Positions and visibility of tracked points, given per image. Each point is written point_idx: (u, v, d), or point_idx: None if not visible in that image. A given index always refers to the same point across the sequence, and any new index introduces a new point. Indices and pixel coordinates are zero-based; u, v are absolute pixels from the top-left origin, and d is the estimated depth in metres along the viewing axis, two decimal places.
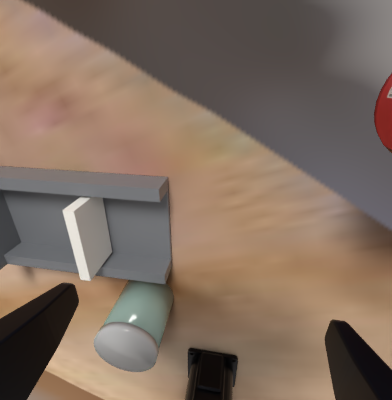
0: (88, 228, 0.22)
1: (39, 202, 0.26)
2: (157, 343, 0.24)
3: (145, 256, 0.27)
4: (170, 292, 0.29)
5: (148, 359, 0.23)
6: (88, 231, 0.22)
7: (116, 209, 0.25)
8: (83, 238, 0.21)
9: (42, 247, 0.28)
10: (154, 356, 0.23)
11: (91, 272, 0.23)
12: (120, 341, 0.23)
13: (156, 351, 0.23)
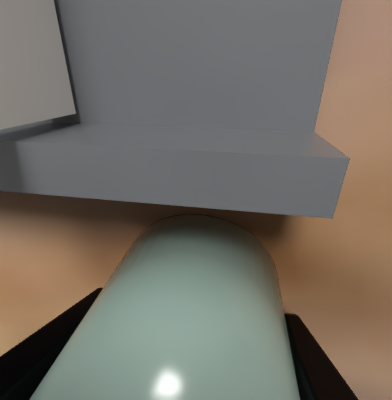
0: None
1: None
2: None
3: (206, 126, 0.07)
4: (276, 275, 0.09)
5: None
6: None
7: None
8: None
9: None
10: None
11: None
12: None
13: None
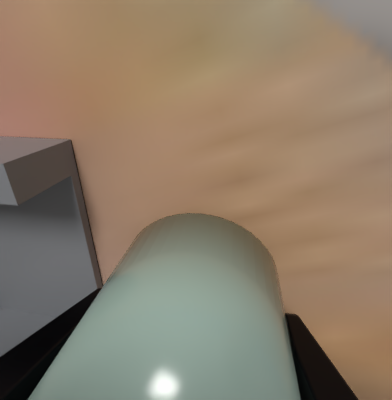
0: None
1: None
2: None
3: (54, 317, 0.13)
4: (277, 274, 0.09)
5: None
6: None
7: None
8: None
9: None
10: None
11: None
12: None
13: None
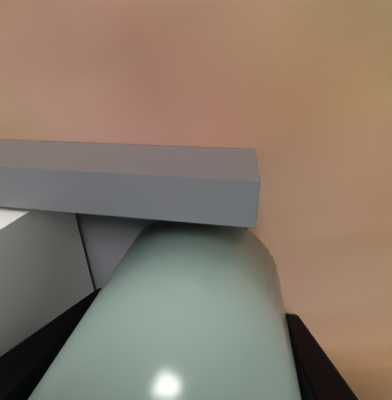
0: (23, 303, 0.07)
1: None
2: None
3: None
4: (277, 274, 0.09)
5: None
6: (23, 312, 0.07)
7: (109, 236, 0.10)
8: (1, 343, 0.07)
9: None
10: None
11: None
12: None
13: None
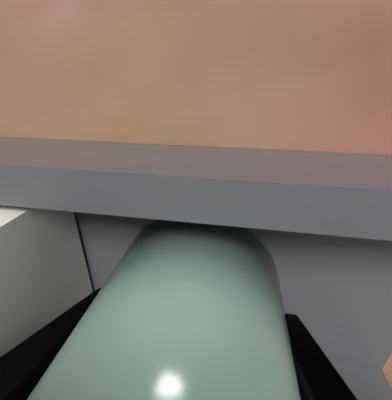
0: (21, 303, 0.07)
1: None
2: None
3: None
4: (277, 274, 0.08)
5: None
6: (21, 311, 0.07)
7: (271, 253, 0.09)
8: None
9: None
10: None
11: None
12: None
13: None
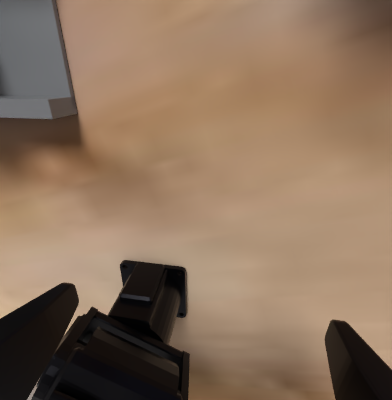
0: None
1: None
2: None
3: (35, 95, 0.18)
4: None
5: None
6: None
7: None
8: None
9: None
10: None
11: None
12: None
13: None
